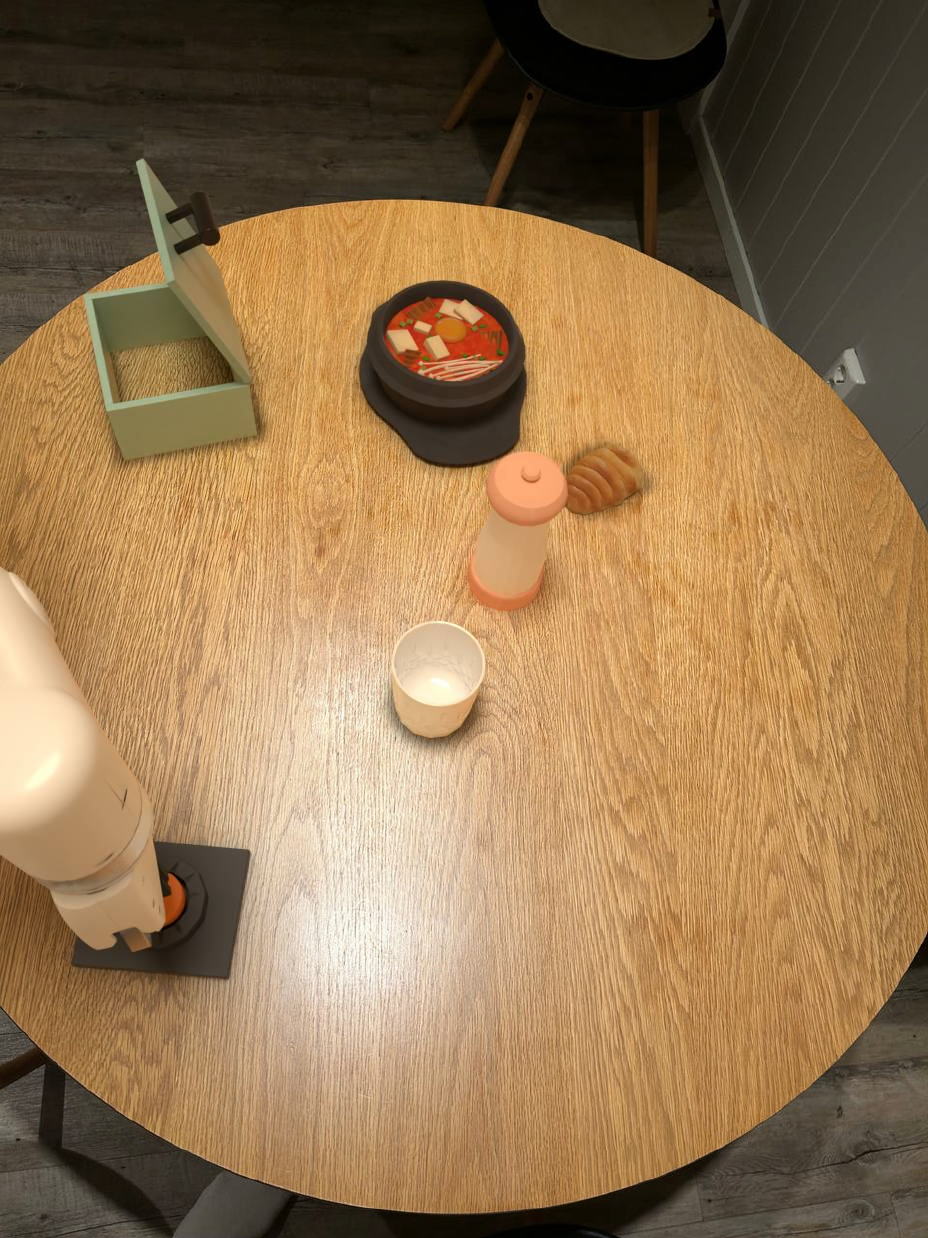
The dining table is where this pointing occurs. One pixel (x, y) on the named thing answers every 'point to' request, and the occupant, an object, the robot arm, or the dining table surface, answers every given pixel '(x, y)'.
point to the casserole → (446, 371)
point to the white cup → (436, 677)
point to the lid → (194, 264)
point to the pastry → (603, 480)
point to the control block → (187, 917)
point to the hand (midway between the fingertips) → (148, 890)
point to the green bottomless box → (171, 416)
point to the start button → (174, 901)
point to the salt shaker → (516, 530)
